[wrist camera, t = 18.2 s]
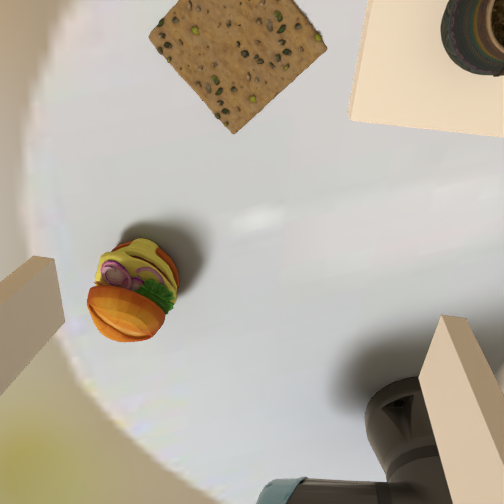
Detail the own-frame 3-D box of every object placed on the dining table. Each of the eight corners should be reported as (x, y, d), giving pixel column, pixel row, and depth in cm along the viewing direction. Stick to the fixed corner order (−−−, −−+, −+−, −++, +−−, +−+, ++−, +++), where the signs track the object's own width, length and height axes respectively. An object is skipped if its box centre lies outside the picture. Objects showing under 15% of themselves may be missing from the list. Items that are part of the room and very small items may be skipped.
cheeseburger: (191, 244, 49) (163, 310, 42) (185, 302, 56) (160, 366, 49) (107, 222, 49) (64, 284, 42) (112, 282, 56) (76, 344, 49)
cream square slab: (521, 129, 39) (547, 142, 34) (347, 110, 40) (350, 120, 36) (605, -90, 31) (651, -109, 27) (386, -104, 33) (396, -124, 28)
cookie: (234, 137, 43) (232, 139, 42) (147, 37, 40) (143, 37, 39) (330, 49, 38) (330, 49, 37) (239, -73, 35) (237, -76, 34)
